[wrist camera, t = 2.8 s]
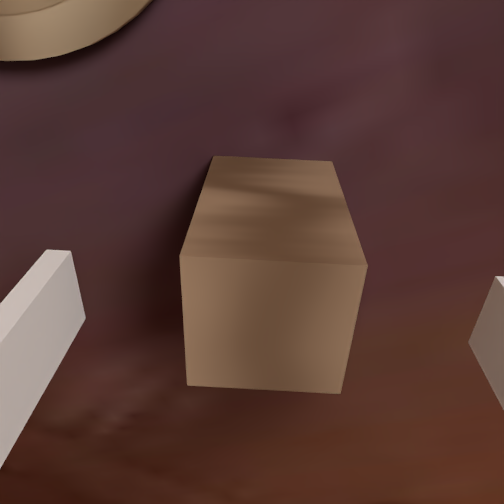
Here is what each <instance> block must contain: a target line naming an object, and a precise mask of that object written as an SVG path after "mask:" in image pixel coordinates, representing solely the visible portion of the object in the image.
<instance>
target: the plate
mask: <svg viewBox="0 0 504 504" xmlns="http://www.w3.org/2000/svg"><path fill="white" fill-rule="evenodd" d="M152 1H153V0H0V60H1V61H26V60H38V59H44V58H49V57H55V56H60V55H63V54H66V53H69V52H72V51H75V50H78V49H81V48H84V47H87V46H90V45H92V44H95V43H97V42H98V41H100V40H102V39H104V38H106V37H108V36H110V35H111V34H113V33H115V32H117V31H118V30H120V29H121V28H122V27H124V26H125V25H126V24H127V23H129V22H130V21H131V20H133V19H134V18H135V17H137V16H138V15H139V14H140V13H141V12H142V11H143V10H144V9H145V8H146V7H147V6H148V5H149V4H150V3H151V2H152Z"/></svg>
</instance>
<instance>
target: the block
mask: <svg viewBox="0 0 504 504" xmlns="http://www.w3.org/2000/svg"><path fill="white" fill-rule="evenodd" d="M179 257H180V274H181V291H182V307H183V324H184V341H185V358H186V375H187V385H189V386H206V387H224V388H242V389H260V390H278V391H296V392H314V393H331V394H340V393H341V389H342V384H343V379H344V375H345V370H346V365H347V360H348V356H349V351H350V346H351V342H352V337H353V332H354V328H355V323H356V318H357V313H358V309H359V304H360V299H361V295H362V290H363V285H364V281H365V276H366V271H367V266H368V265H367V262H366V260H365V257H364V254H363V251H362V248H361V245H360V242H359V239H358V236H357V233H356V230H355V228H354V225H353V222H352V219H351V216H350V213H349V210H348V207H347V204H346V201H345V198H344V196H343V193H342V190H341V187H340V184H339V181H338V178H337V175H336V172H335V169H334V166H333V163H332V162H331V161H311V160H291V159H270V158H250V157H230V156H213V159H212V162H211V165H210V168H209V171H208V173H207V176H206V179H205V182H204V185H203V188H202V191H201V194H200V197H199V200H198V203H197V206H196V209H195V212H194V215H193V218H192V221H191V223H190V226H189V229H188V232H187V235H186V238H185V241H184V244H183V247H182V250H181V253H180V256H179Z"/></svg>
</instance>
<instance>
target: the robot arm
mask: <svg viewBox="0 0 504 504" xmlns="http://www.w3.org/2000/svg"><path fill="white" fill-rule="evenodd" d="M85 319H86V318H85V313H84V309H83V304H82V300H81V295H80V290H79V286H78V281H77V277H76V272H75V268H74V263H73V259H72V254H71V251H61V250H46V251H45V252H44V253H43V254H42V256H41V257H40V258H39V259H38V260H37V261H36V263H35V264H34V265H33V266H32V267H31V268H30V270H29V271H28V272H27V273H26V274H25V275H24V277H23V278H22V279H21V280H20V281H19V282H18V284H17V285H16V286H15V287H14V288H13V289H12V291H11V292H10V293H9V294H8V295H7V296H6V298H5V299H4V300H3V301H2V302H1V303H0V468H1V467H2V465H3V463H4V461H5V459H6V458H7V456H8V454H9V452H10V451H11V449H12V447H13V445H14V444H15V442H16V440H17V438H18V437H19V435H20V433H21V431H22V430H23V428H24V426H25V424H26V423H27V421H28V419H29V417H30V415H31V414H32V412H33V410H34V408H35V407H36V405H37V403H38V401H39V400H40V398H41V396H42V394H43V393H44V391H45V389H46V387H47V386H48V384H49V382H50V380H51V378H52V377H53V375H54V373H55V371H56V370H57V368H58V366H59V364H60V363H61V361H62V359H63V357H64V356H65V354H66V352H67V350H68V349H69V347H70V345H71V343H72V342H73V340H74V338H75V336H76V334H77V333H78V331H79V329H80V327H81V326H82V324H83V322H84V320H85ZM468 343H469V345H470V347H471V349H472V351H473V353H474V354H475V356H476V358H477V360H478V362H479V364H480V366H481V368H482V370H483V372H484V374H485V376H486V377H487V379H488V381H489V383H490V385H491V387H492V389H493V391H494V393H495V395H496V397H497V398H498V400H499V402H500V404H501V406H502V408H503V410H504V277H500V276H495V279H494V281H493V284H492V286H491V289H490V291H489V293H488V296H487V298H486V301H485V303H484V305H483V308H482V310H481V313H480V315H479V318H478V320H477V322H476V325H475V327H474V330H473V332H472V335H471V337H470V339H469V342H468Z"/></svg>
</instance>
